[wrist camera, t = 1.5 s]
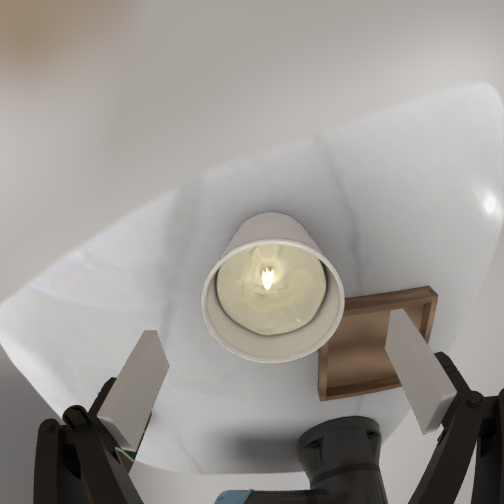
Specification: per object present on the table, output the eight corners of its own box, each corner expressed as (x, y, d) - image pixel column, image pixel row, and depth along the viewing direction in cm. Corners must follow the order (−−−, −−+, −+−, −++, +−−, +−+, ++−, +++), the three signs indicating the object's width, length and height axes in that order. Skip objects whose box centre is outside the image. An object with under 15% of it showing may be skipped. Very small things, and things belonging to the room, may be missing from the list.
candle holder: (240, 190, 28) (223, 218, 17) (332, 222, 29) (369, 268, 18) (213, 276, 32) (187, 342, 20) (297, 302, 32) (309, 376, 21)
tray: (410, 371, 36) (416, 382, 33) (317, 388, 37) (319, 401, 35) (429, 286, 31) (438, 295, 29) (318, 301, 32) (321, 313, 30)
